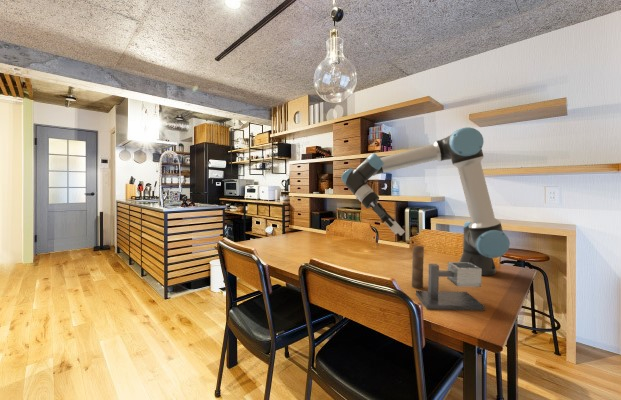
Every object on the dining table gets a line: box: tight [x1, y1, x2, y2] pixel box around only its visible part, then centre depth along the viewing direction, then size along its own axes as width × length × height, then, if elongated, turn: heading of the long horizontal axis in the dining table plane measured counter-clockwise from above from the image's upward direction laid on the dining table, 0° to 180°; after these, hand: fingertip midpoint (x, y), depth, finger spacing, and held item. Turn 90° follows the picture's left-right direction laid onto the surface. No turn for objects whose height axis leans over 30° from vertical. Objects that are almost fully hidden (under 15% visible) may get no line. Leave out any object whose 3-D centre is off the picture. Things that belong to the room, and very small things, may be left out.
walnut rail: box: [411, 245, 425, 290], centre depth 111 cm, size 4×4×16 cm
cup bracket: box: [415, 261, 486, 312], centre depth 97 cm, size 18×12×13 cm, turn 86°
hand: (400, 233), depth 119 cm, fingers open, 13 cm apart
